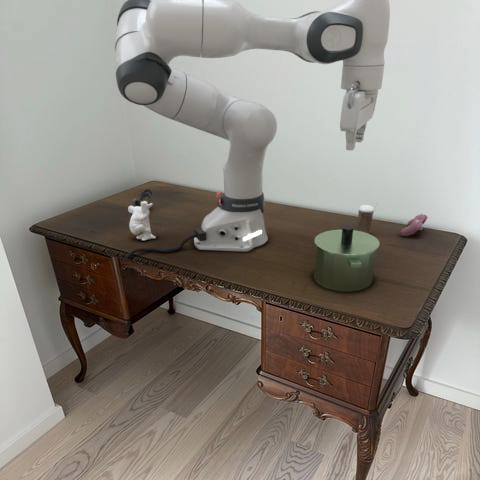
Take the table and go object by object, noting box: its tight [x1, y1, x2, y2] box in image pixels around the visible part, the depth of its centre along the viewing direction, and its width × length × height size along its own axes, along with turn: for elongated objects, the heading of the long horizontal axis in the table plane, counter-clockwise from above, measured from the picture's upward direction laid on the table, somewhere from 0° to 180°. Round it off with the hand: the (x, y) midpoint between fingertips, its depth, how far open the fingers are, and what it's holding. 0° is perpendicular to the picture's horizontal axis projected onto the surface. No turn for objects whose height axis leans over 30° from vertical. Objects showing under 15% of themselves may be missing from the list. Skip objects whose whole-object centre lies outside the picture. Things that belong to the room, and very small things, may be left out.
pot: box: [313, 246, 378, 293], centre depth 117 cm, size 15×20×10 cm
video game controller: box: [399, 213, 429, 237], centre depth 142 cm, size 10×5×7 cm, turn 148°
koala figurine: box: [127, 201, 157, 242], centre depth 142 cm, size 8×7×12 cm
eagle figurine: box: [131, 188, 153, 210], centre depth 167 cm, size 8×7×9 cm
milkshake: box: [357, 202, 378, 234], centre depth 140 cm, size 4×5×10 cm
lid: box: [313, 225, 380, 257], centre depth 113 cm, size 16×16×5 cm
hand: (354, 145), depth 110 cm, fingers open, 8 cm apart
